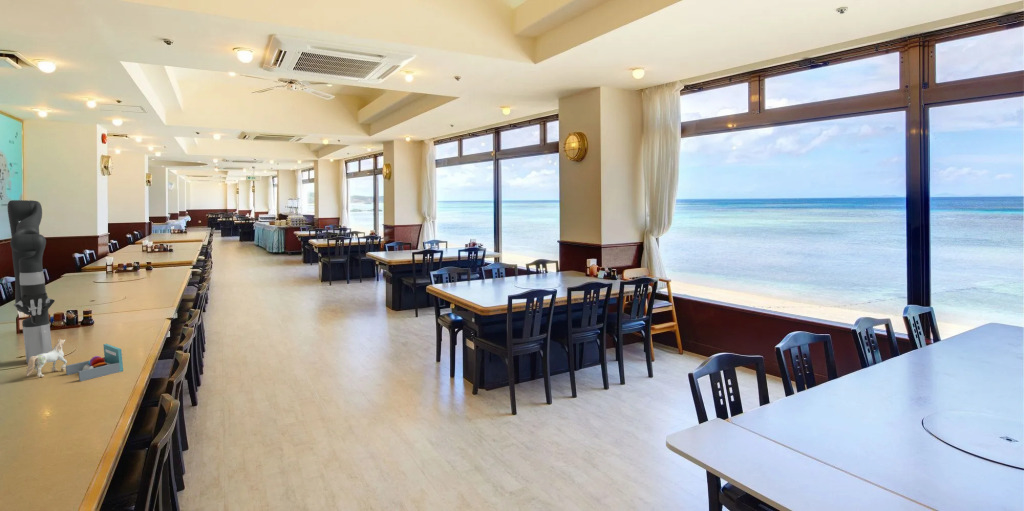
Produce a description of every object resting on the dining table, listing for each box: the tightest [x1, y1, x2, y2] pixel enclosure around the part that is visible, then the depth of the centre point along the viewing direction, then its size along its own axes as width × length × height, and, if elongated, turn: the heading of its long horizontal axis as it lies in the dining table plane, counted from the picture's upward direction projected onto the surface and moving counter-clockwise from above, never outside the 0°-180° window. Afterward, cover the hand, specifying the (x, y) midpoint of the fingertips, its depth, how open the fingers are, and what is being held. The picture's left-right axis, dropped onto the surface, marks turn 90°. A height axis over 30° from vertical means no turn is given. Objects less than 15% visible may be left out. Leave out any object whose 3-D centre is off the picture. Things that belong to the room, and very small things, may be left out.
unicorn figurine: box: [25, 336, 68, 378], centre depth 224 cm, size 7×20×13 cm, turn 4°
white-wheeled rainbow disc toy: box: [83, 355, 110, 370], centre depth 225 cm, size 8×10×7 cm
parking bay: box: [65, 343, 124, 382], centre depth 224 cm, size 15×15×10 cm
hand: (36, 323), depth 214 cm, fingers closed
